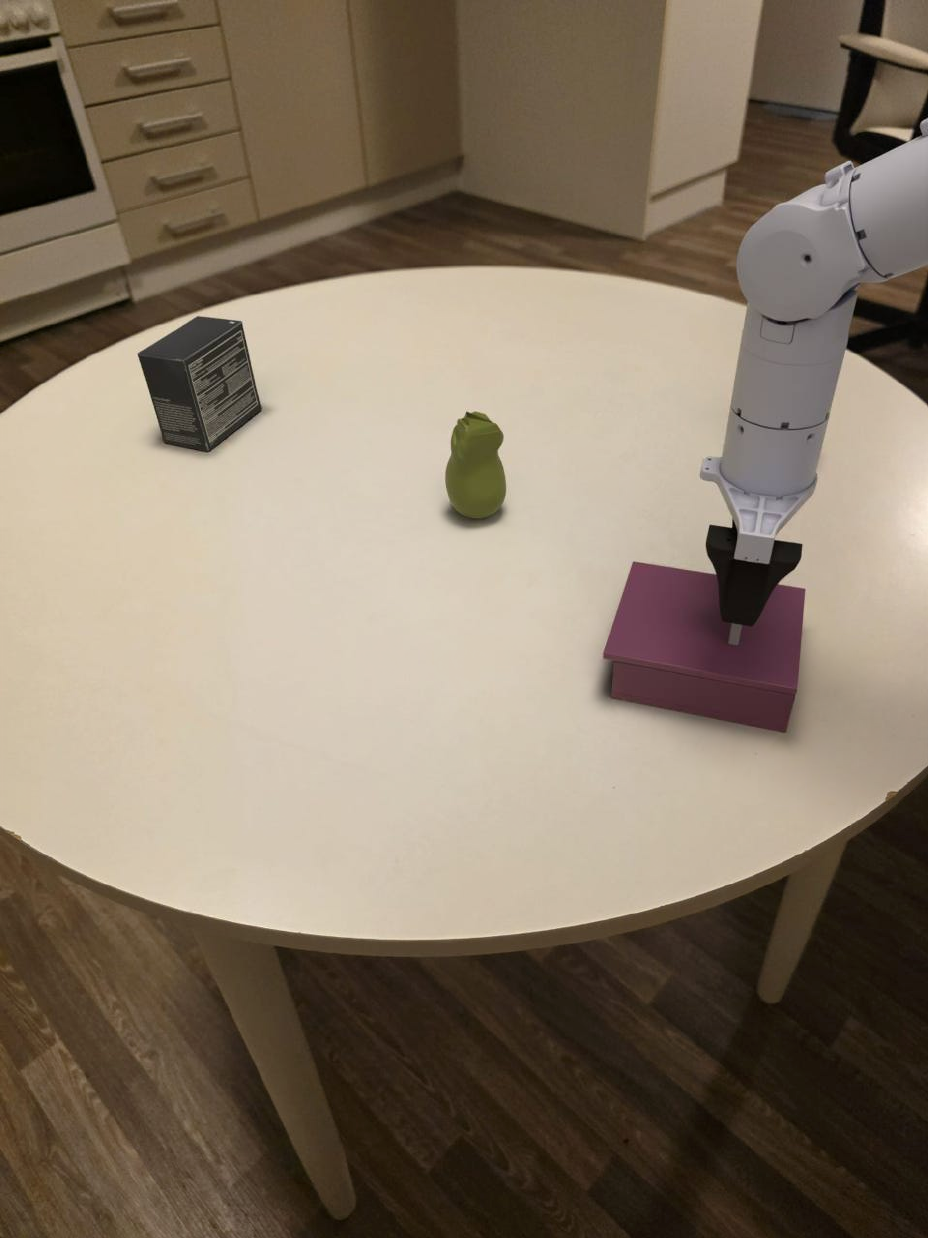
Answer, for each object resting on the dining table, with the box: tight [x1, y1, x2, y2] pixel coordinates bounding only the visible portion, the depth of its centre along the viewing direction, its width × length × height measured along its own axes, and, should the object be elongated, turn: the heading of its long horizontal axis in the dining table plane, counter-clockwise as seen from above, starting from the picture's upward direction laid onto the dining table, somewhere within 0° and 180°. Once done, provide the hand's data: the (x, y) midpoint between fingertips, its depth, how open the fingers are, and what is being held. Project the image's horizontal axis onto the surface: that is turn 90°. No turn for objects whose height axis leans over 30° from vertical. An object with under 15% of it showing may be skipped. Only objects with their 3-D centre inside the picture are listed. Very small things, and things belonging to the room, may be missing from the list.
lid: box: [602, 560, 806, 695], centre depth 64 cm, size 13×11×4 cm
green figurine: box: [444, 411, 507, 519], centre depth 82 cm, size 6×5×10 cm
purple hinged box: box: [610, 660, 797, 733], centre depth 67 cm, size 12×11×4 cm
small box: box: [137, 315, 263, 452], centre depth 97 cm, size 11×6×10 cm, turn 156°
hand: (743, 586), depth 63 cm, fingers open, 7 cm apart
